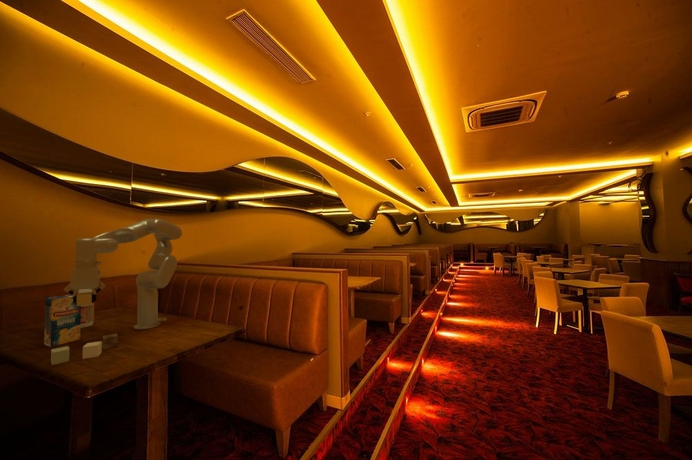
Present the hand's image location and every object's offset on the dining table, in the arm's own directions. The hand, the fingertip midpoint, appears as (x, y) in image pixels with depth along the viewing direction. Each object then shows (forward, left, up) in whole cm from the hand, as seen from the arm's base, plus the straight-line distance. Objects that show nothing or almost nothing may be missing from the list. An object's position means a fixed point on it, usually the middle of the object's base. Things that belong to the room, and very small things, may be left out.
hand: (85, 303), depth 132 cm
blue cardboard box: (+10, -15, -21) cm, 27 cm away
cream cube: (-5, +15, -21) cm, 26 cm away
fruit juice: (+7, -43, -21) cm, 48 cm away
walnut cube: (-10, +6, -21) cm, 24 cm away
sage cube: (+5, +15, -21) cm, 26 cm away
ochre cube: (0, 0, -1) cm, 1 cm away
